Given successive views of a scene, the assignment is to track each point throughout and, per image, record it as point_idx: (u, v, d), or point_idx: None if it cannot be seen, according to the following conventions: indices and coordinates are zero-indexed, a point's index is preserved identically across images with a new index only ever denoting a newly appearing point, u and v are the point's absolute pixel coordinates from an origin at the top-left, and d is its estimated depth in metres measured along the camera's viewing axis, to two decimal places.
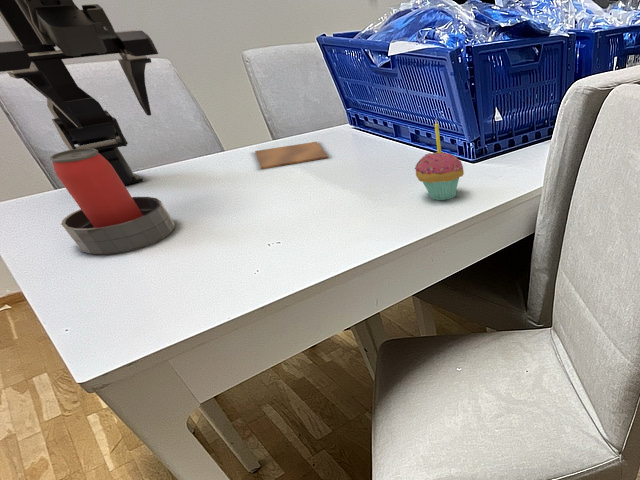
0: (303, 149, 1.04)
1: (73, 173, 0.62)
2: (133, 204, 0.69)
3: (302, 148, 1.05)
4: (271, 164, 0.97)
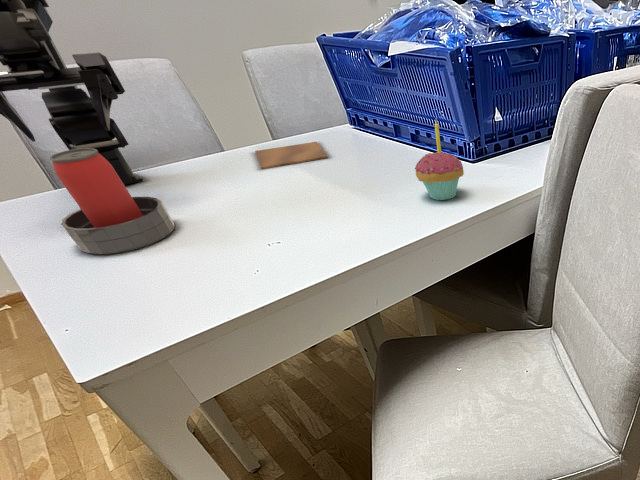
0: (303, 149, 1.04)
1: (73, 173, 0.62)
2: (133, 204, 0.69)
3: (302, 148, 1.05)
4: (271, 164, 0.97)
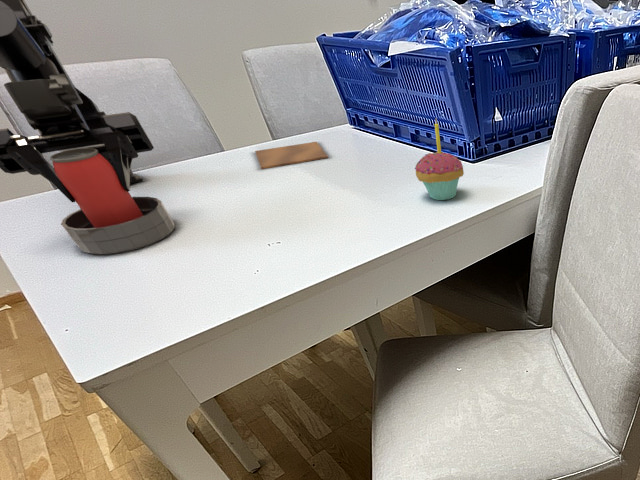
0: (303, 149, 1.04)
1: (73, 173, 0.62)
2: (133, 204, 0.69)
3: (302, 148, 1.05)
4: (271, 164, 0.97)
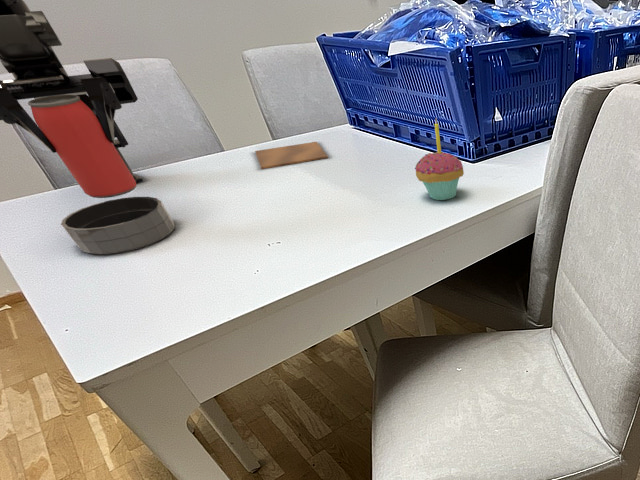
0: (303, 149, 1.04)
1: (54, 119, 0.59)
2: (118, 157, 0.66)
3: (302, 148, 1.05)
4: (271, 164, 0.97)
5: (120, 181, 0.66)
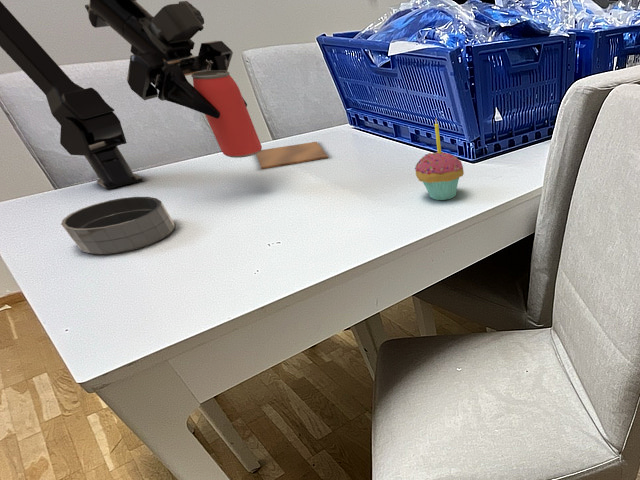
0: (303, 149, 1.04)
1: (226, 87, 0.73)
2: None
3: (302, 148, 1.05)
4: (271, 164, 0.97)
5: (258, 140, 0.81)
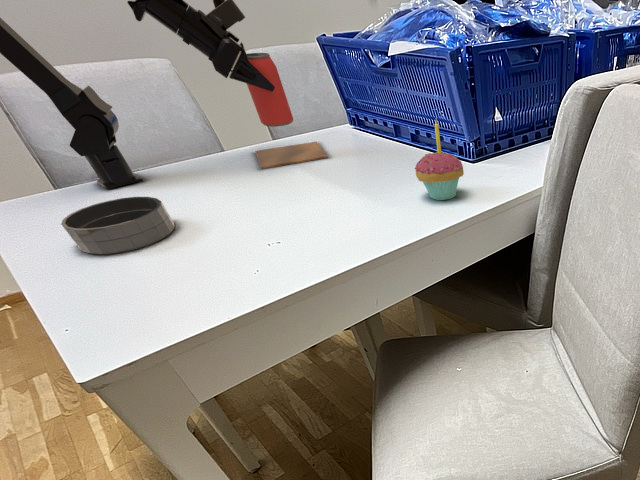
0: (303, 149, 1.04)
1: (274, 65, 0.90)
2: None
3: (302, 148, 1.05)
4: (271, 164, 0.97)
5: None
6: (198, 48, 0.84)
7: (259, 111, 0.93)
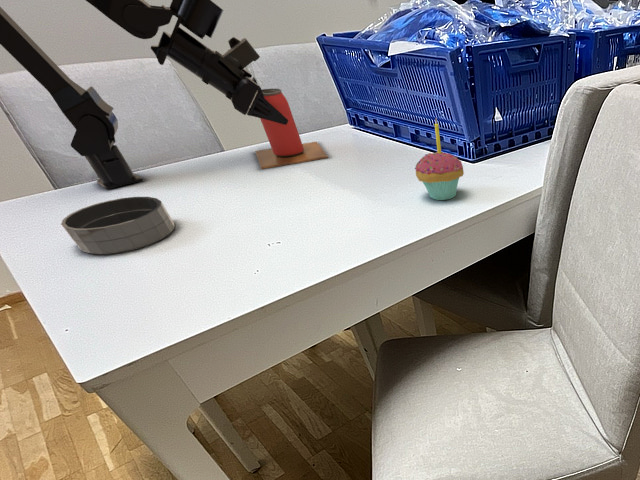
0: None
1: (285, 100, 0.95)
2: None
3: None
4: (271, 164, 0.97)
5: None
6: (216, 87, 0.89)
7: (272, 143, 0.98)
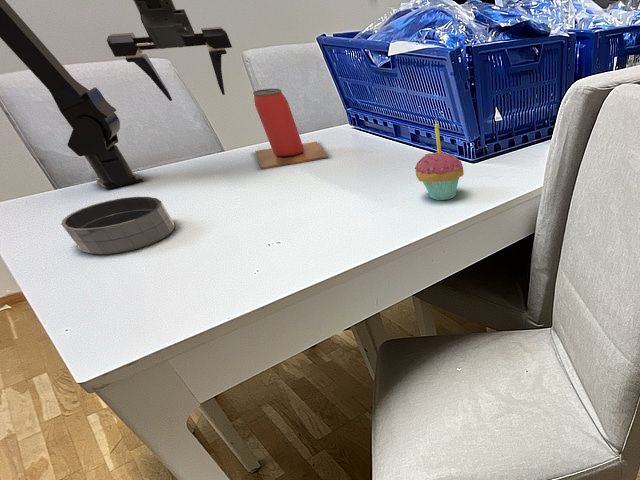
0: None
1: (285, 99, 0.95)
2: None
3: None
4: (271, 164, 0.97)
5: None
6: None
7: (272, 143, 0.98)
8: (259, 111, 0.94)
